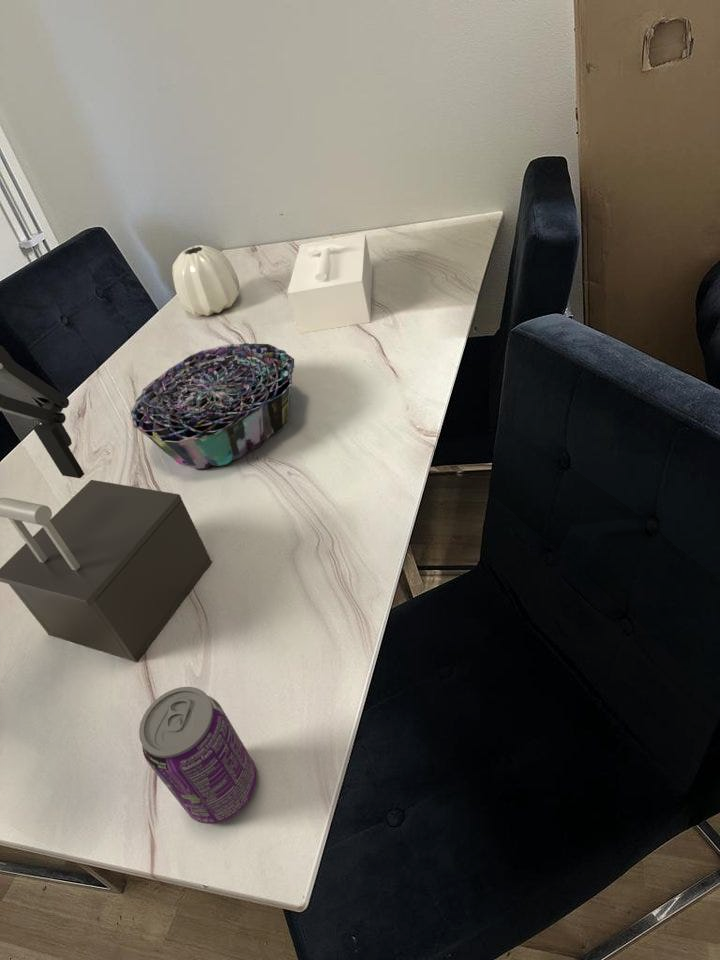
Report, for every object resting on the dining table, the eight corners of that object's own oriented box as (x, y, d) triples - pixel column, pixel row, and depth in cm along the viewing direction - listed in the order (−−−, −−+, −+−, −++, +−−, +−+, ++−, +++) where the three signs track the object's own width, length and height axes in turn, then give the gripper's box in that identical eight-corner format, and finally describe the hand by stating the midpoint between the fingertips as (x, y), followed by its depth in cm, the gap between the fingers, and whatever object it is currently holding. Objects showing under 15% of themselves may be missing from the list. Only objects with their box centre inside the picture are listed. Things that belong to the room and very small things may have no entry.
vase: (185, 303, 155) (163, 247, 146) (243, 288, 155) (224, 231, 147) (183, 328, 144) (160, 269, 136) (245, 312, 144) (226, 252, 136)
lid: (89, 606, 68) (42, 539, 62) (-4, 580, 74) (-56, 517, 68) (182, 499, 79) (150, 433, 73) (93, 484, 85) (57, 422, 79)
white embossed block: (372, 270, 148) (363, 222, 141) (370, 322, 129) (359, 268, 122) (309, 281, 150) (297, 234, 144) (298, 334, 131) (283, 281, 124)
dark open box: (137, 662, 75) (95, 601, 68) (48, 635, 81) (1, 575, 74) (212, 561, 86) (182, 499, 79) (128, 543, 92) (94, 484, 85)
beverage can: (194, 753, 65) (147, 684, 58) (264, 749, 64) (225, 678, 57) (176, 829, 60) (121, 764, 52) (252, 825, 59) (207, 758, 51)
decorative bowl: (338, 406, 111) (328, 352, 106) (227, 501, 94) (207, 442, 88) (229, 383, 125) (214, 334, 119) (114, 462, 108) (90, 409, 102)
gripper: (-222, 426, 45) (-43, 619, 59) (37, 267, 62) (131, 446, 75) (-277, 417, 48) (-95, 603, 62) (-16, 268, 65) (83, 440, 78)
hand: (29, 517), depth 68 cm, fingers open, 13 cm apart
